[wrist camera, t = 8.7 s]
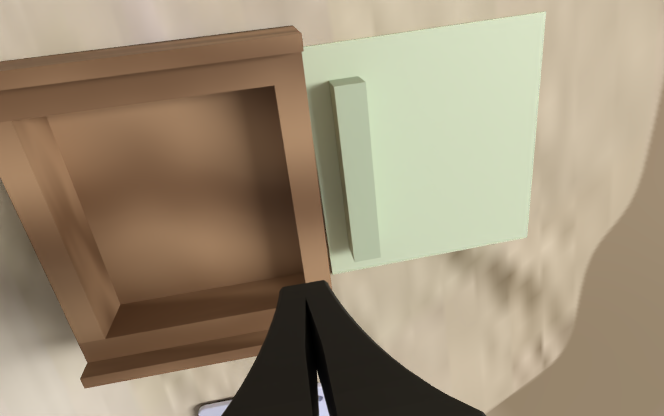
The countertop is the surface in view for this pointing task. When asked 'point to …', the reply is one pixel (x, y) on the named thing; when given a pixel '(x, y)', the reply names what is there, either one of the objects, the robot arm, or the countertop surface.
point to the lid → (425, 138)
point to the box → (166, 193)
